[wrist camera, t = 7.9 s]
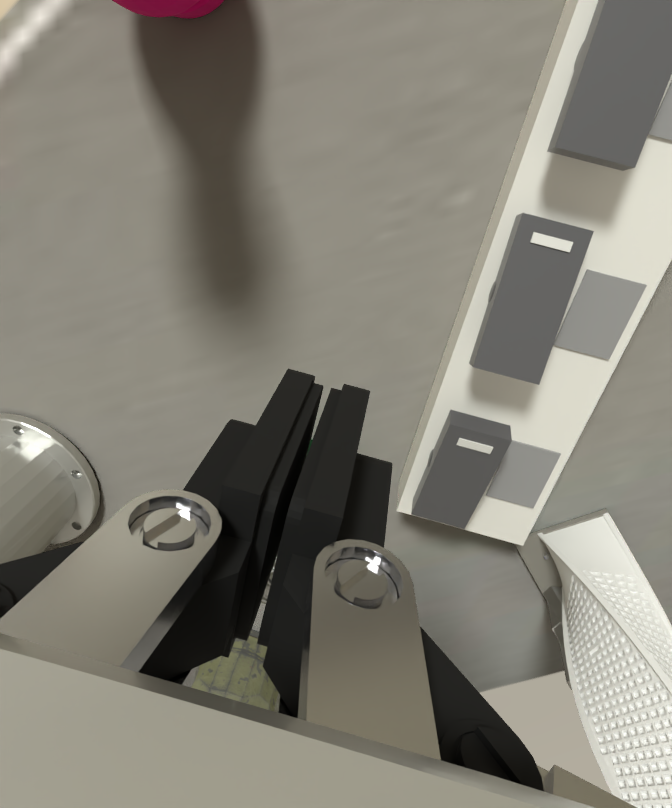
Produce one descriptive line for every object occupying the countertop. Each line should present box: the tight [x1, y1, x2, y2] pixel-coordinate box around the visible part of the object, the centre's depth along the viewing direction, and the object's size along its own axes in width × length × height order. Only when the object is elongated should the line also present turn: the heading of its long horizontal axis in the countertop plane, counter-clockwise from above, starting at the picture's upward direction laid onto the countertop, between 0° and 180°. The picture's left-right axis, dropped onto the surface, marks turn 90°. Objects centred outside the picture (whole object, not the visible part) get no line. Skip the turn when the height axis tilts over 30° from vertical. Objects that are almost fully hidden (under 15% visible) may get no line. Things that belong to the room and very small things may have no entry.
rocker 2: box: [547, 0, 672, 171], centre depth 24 cm, size 8×4×2 cm, turn 167°
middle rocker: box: [469, 213, 594, 385], centre depth 29 cm, size 8×4×2 cm, turn 167°
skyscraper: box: [515, 509, 672, 808], centre depth 29 cm, size 8×8×28 cm
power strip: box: [397, 0, 672, 546], centre depth 32 cm, size 33×9×4 cm, turn 167°
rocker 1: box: [411, 409, 512, 529], centre depth 34 cm, size 8×4×2 cm, turn 167°
